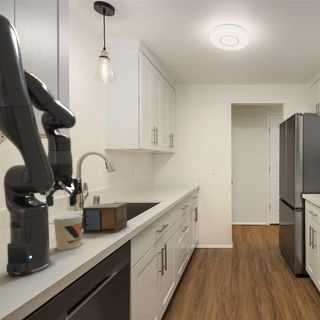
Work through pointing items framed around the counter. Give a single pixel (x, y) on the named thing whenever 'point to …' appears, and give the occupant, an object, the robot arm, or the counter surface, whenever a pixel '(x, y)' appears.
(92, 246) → the counter surface
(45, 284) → the counter surface
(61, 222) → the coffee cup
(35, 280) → the counter surface
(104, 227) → the cupboard
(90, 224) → the sliding lid with handle
